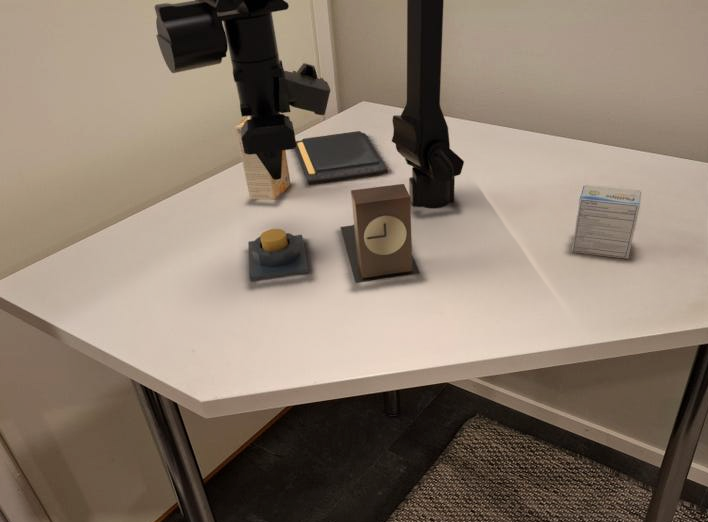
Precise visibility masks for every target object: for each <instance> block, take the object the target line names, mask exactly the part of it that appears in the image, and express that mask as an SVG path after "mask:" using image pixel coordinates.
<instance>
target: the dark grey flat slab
mask: <svg viewBox="0 0 708 522" xmlns="http://www.w3.org/2000/svg"><path fill="white" fill-rule="evenodd" d="M340 231H341V235H342V239H343V242H344V245H345V250H346V254H347V257H348V261H349V265H350V268H351V272H352V275H353V279H354V282H355V284H359V283H365V282H366V283H367V282H374V281H381V280H387V279H393V278H401V277H408V276H415V275H420V274H421V272H420V270H419V267H418V265H417V262H416V260H415V257H414V255H413V254H412V270H413V271H411V272H404V273H396V274H389V275H382V276H375V277H368V278H362V276H361V272H360V269H359V265H358V259H357V249H356V238H355V228H354V224H352V225H345V226H340Z"/></svg>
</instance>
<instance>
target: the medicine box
mask: <svg viewBox="0 0 708 522" xmlns="http://www.w3.org/2000/svg"><path fill="white" fill-rule="evenodd" d="M641 200H642V191H641V190H639V189H631V188H621V187H611V186H610V187H609V186H599V185H589V184H584V185H583V186H582V191H581V193H580V196H579V200H578V207H577V215H576V221H575V227H574V235H573V240H572V247H571V253H577V254H585V255H593V256H600V257H610V258H617V259H624V260H628V259H629V258H630V253H631V247H632V243H633V238H634V234H635V230H636V226H637V225H636V224H637V221H638V216H639V212H640V209H641V203H642V201H641Z"/></svg>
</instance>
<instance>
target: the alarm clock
mask: <svg viewBox="0 0 708 522" xmlns="http://www.w3.org/2000/svg"><path fill="white" fill-rule="evenodd" d="M350 196H351V205H352V206H351V207H352V218H353V225H354V228H355V238H356V249H357V259H358V265H359V269H360V272H361V276H362V278H368V277H375V276H382V275H389V274H396V273H404V272H411V271H413V270H412V255H413V243H412V239H413V238H412V211H411V209H412V207H411V206H412V204H411V202H410V193H409V191H408V190H407V187H406V185H405V183H399V184H391V185H384V186H374V187H367V188H358V189H352V190H350Z"/></svg>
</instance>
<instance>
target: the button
mask: <svg viewBox="0 0 708 522" xmlns="http://www.w3.org/2000/svg"><path fill="white" fill-rule="evenodd" d="M286 233H287V232H286V231H285V230H284V229H280V228H271V229H267V230H265V231H263V232H262V233H261V234H260V236H259V237H260V238H261V243H262V248H263V249H264V250H265V251H278V250H282V249H284V248H286V247H287V246H288V241H287V236H286Z"/></svg>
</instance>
